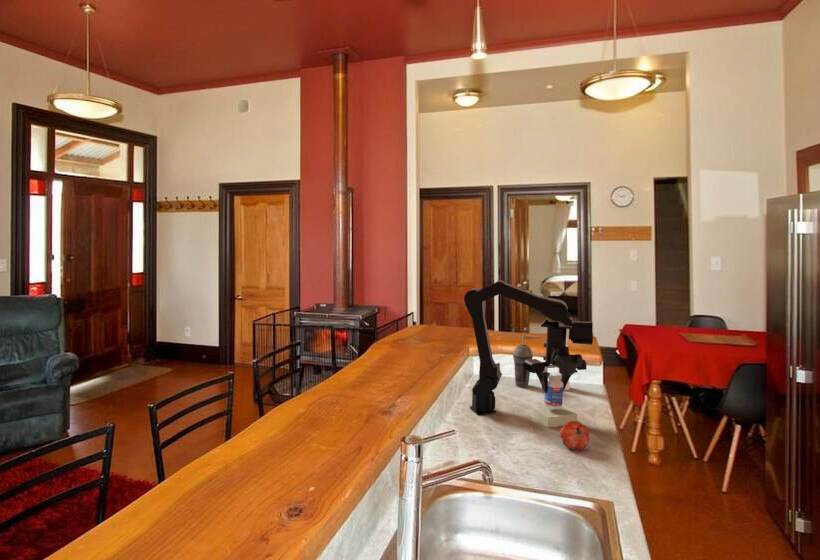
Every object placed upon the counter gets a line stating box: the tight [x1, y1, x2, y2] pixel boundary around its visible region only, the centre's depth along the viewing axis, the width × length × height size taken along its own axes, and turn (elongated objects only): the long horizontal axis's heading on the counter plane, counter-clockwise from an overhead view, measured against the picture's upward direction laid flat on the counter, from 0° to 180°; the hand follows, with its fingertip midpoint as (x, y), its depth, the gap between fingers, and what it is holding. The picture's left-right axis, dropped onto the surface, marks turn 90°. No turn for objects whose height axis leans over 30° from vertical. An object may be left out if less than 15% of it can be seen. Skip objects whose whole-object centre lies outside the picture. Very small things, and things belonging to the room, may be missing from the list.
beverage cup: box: [512, 332, 534, 389], centre depth 183 cm, size 7×7×20 cm
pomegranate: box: [559, 421, 590, 451], centre depth 131 cm, size 7×7×10 cm
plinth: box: [529, 403, 578, 428], centre depth 151 cm, size 10×10×3 cm
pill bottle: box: [543, 371, 564, 408], centre depth 150 cm, size 6×5×10 cm
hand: (553, 391), depth 150 cm, fingers closed on pill bottle, 5 cm apart
